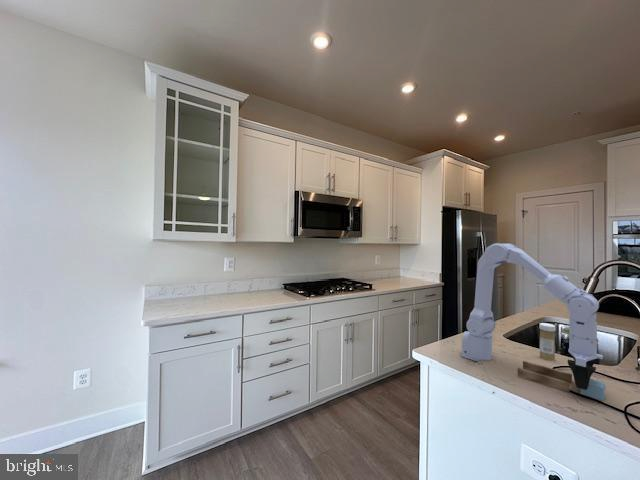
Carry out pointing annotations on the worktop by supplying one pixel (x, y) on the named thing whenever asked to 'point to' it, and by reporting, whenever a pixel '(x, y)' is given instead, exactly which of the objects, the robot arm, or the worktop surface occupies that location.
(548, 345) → the sprinkles bottle
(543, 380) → the walnut channel
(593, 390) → the blue block
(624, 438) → the worktop surface
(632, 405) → the worktop surface
